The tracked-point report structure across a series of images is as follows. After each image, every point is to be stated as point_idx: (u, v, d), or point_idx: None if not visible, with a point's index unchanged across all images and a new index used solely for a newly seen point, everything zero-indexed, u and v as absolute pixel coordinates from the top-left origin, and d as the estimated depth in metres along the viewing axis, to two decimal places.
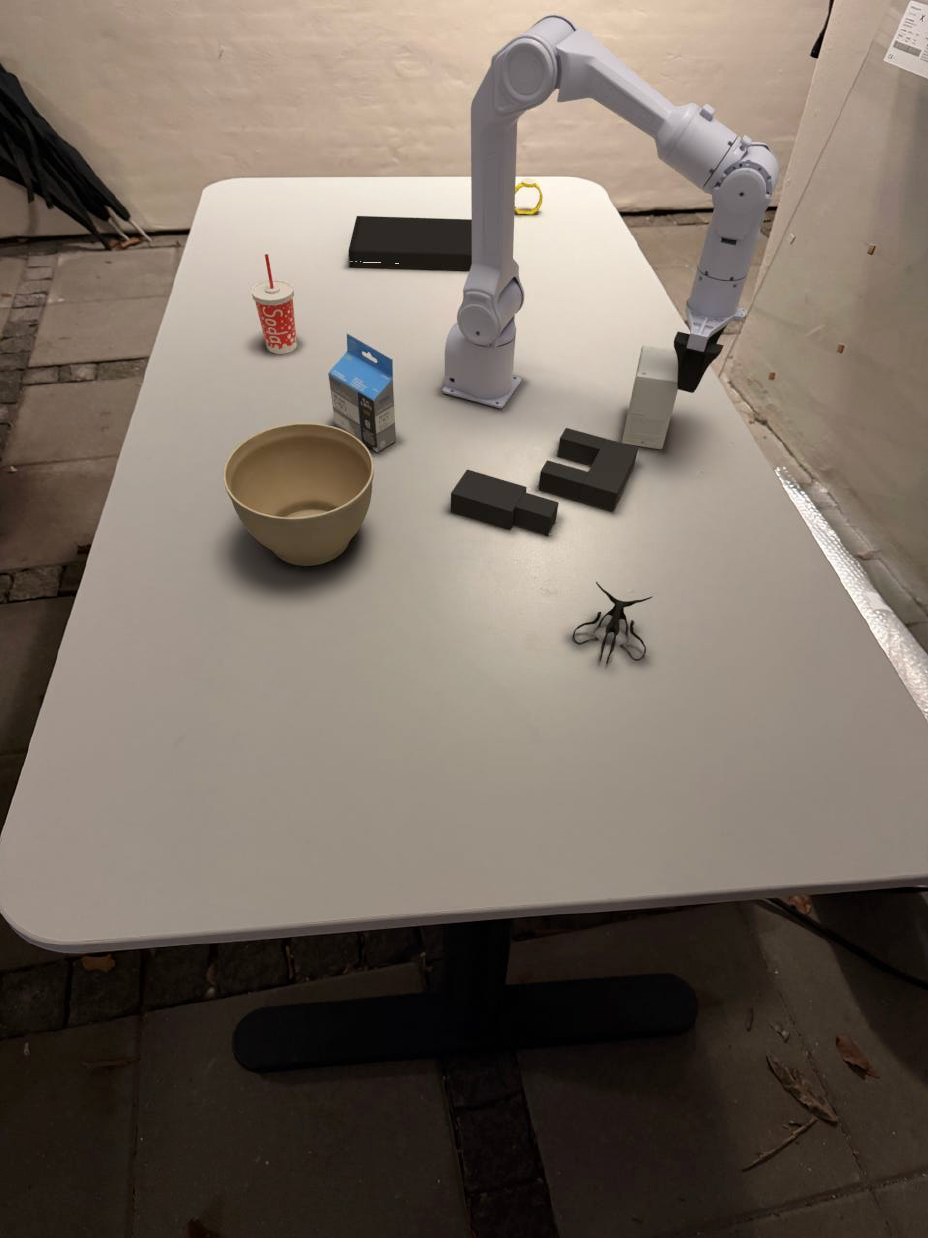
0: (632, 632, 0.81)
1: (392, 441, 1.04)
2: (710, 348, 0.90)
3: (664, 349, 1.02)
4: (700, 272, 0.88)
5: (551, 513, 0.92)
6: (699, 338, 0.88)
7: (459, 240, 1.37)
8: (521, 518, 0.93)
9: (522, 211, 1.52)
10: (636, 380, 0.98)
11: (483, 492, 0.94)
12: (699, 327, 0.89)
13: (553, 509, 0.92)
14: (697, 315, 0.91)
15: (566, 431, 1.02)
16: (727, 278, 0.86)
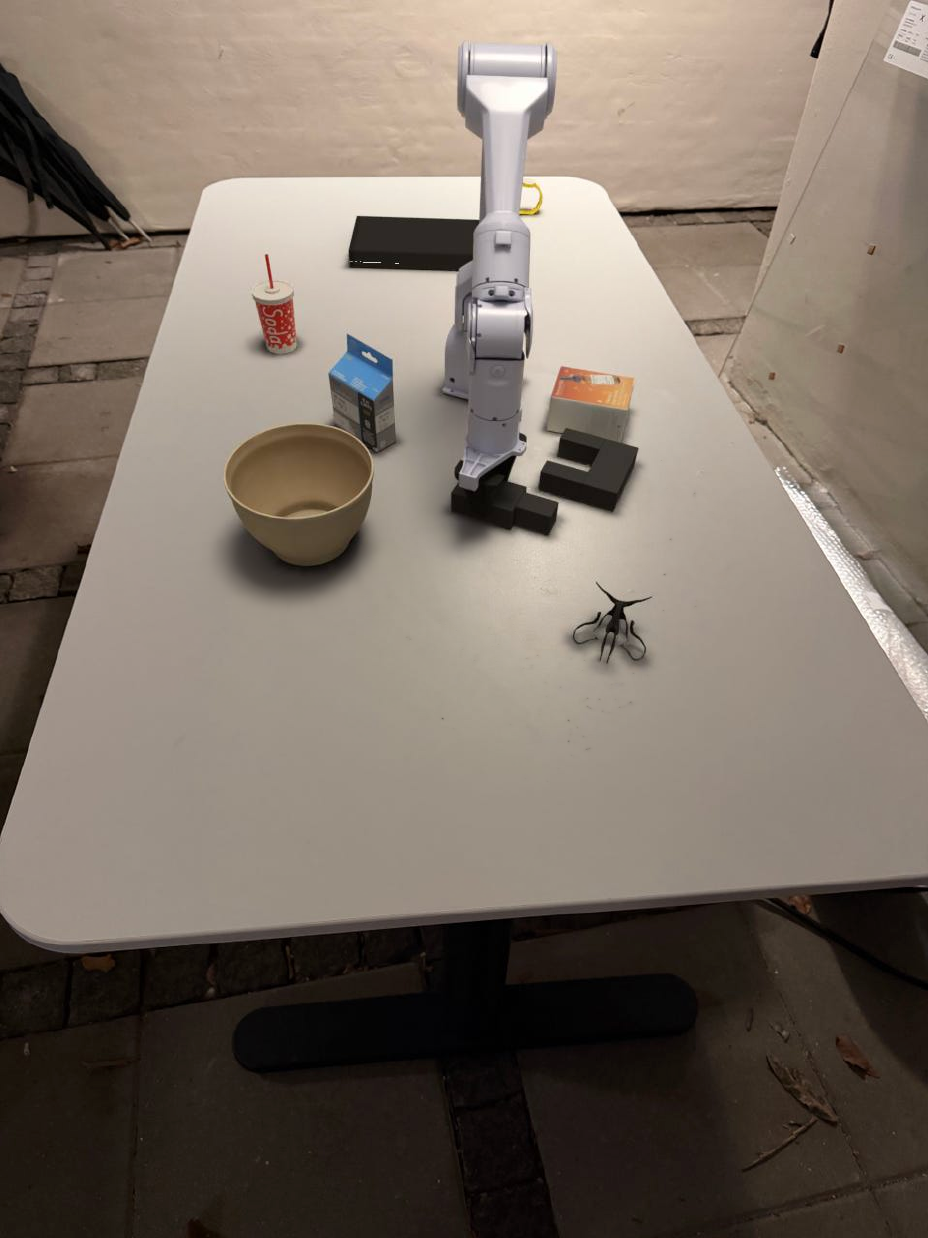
0: (632, 632, 0.81)
1: (392, 441, 1.04)
2: (489, 479, 0.87)
3: None
4: (469, 410, 0.85)
5: (551, 513, 0.92)
6: (468, 479, 0.84)
7: (459, 240, 1.37)
8: (521, 518, 0.93)
9: (522, 211, 1.52)
10: (550, 430, 1.07)
11: None
12: (472, 465, 0.86)
13: (553, 509, 0.92)
14: (473, 450, 0.87)
15: (566, 431, 1.02)
16: (469, 407, 0.84)
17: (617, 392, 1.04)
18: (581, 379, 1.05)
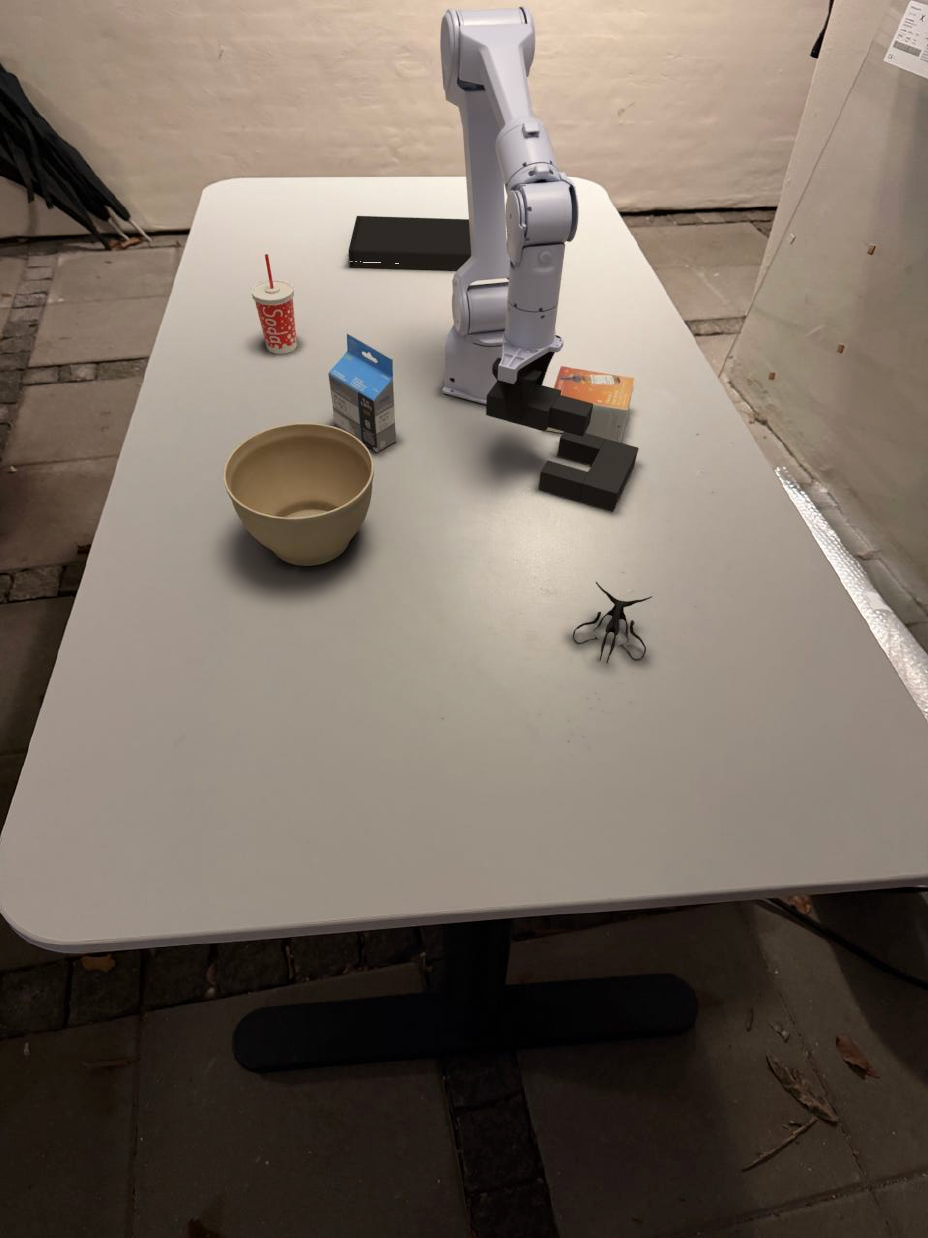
0: (632, 632, 0.81)
1: (392, 441, 1.04)
2: (526, 375, 0.89)
3: None
4: (509, 303, 0.86)
5: (586, 413, 0.93)
6: (507, 370, 0.86)
7: (459, 240, 1.37)
8: (556, 419, 0.95)
9: None
10: (550, 430, 1.07)
11: None
12: (510, 358, 0.87)
13: (588, 409, 0.94)
14: (511, 346, 0.88)
15: None
16: (512, 303, 0.85)
17: (617, 392, 1.04)
18: (581, 379, 1.05)
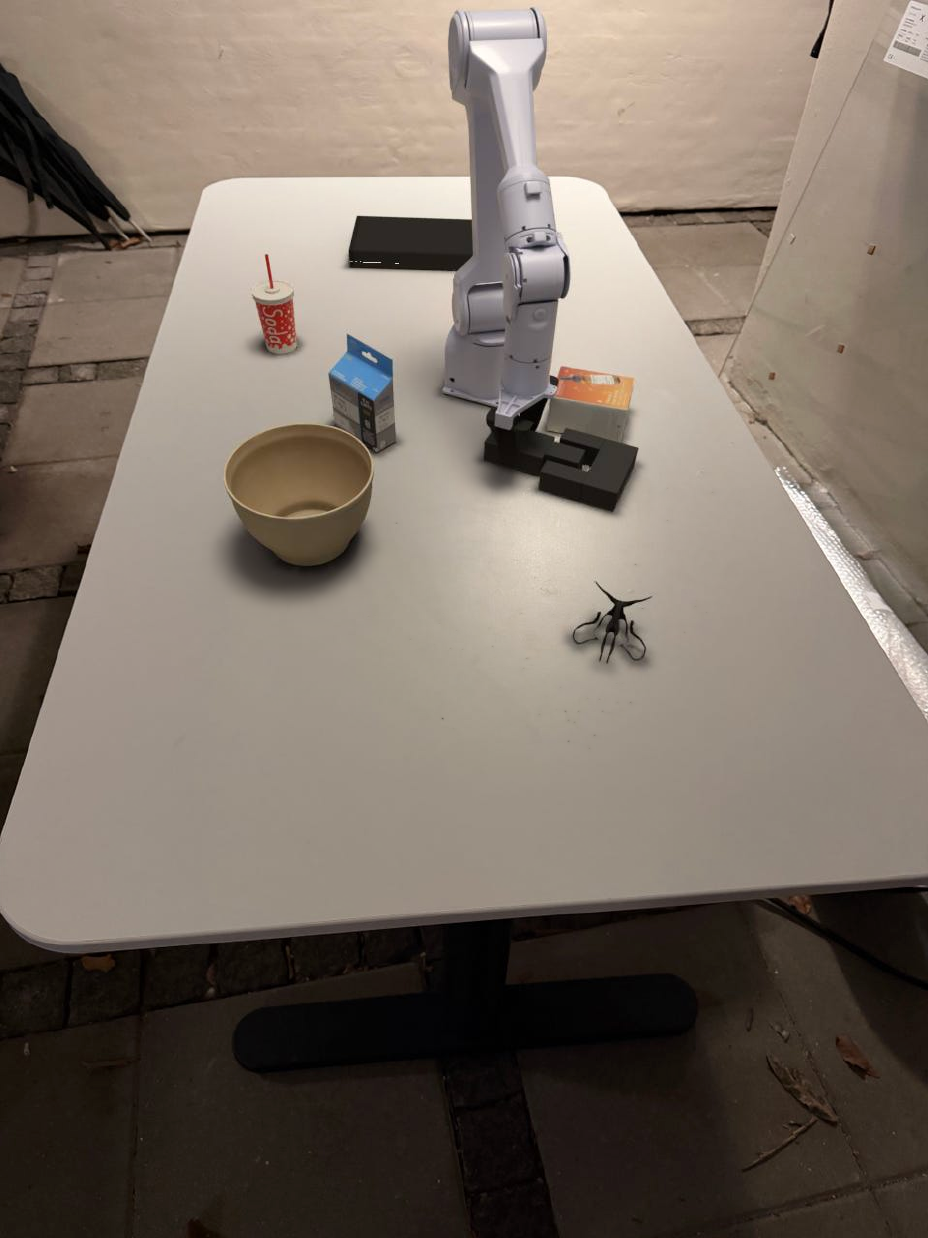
0: (632, 632, 0.82)
1: (392, 441, 1.04)
2: (519, 425, 0.93)
3: None
4: (505, 353, 0.91)
5: (578, 459, 0.98)
6: (504, 418, 0.90)
7: (459, 240, 1.37)
8: None
9: None
10: (550, 430, 1.07)
11: None
12: (507, 406, 0.92)
13: (580, 456, 0.99)
14: (507, 393, 0.93)
15: (566, 431, 1.02)
16: (508, 354, 0.90)
17: (617, 392, 1.04)
18: (581, 379, 1.05)
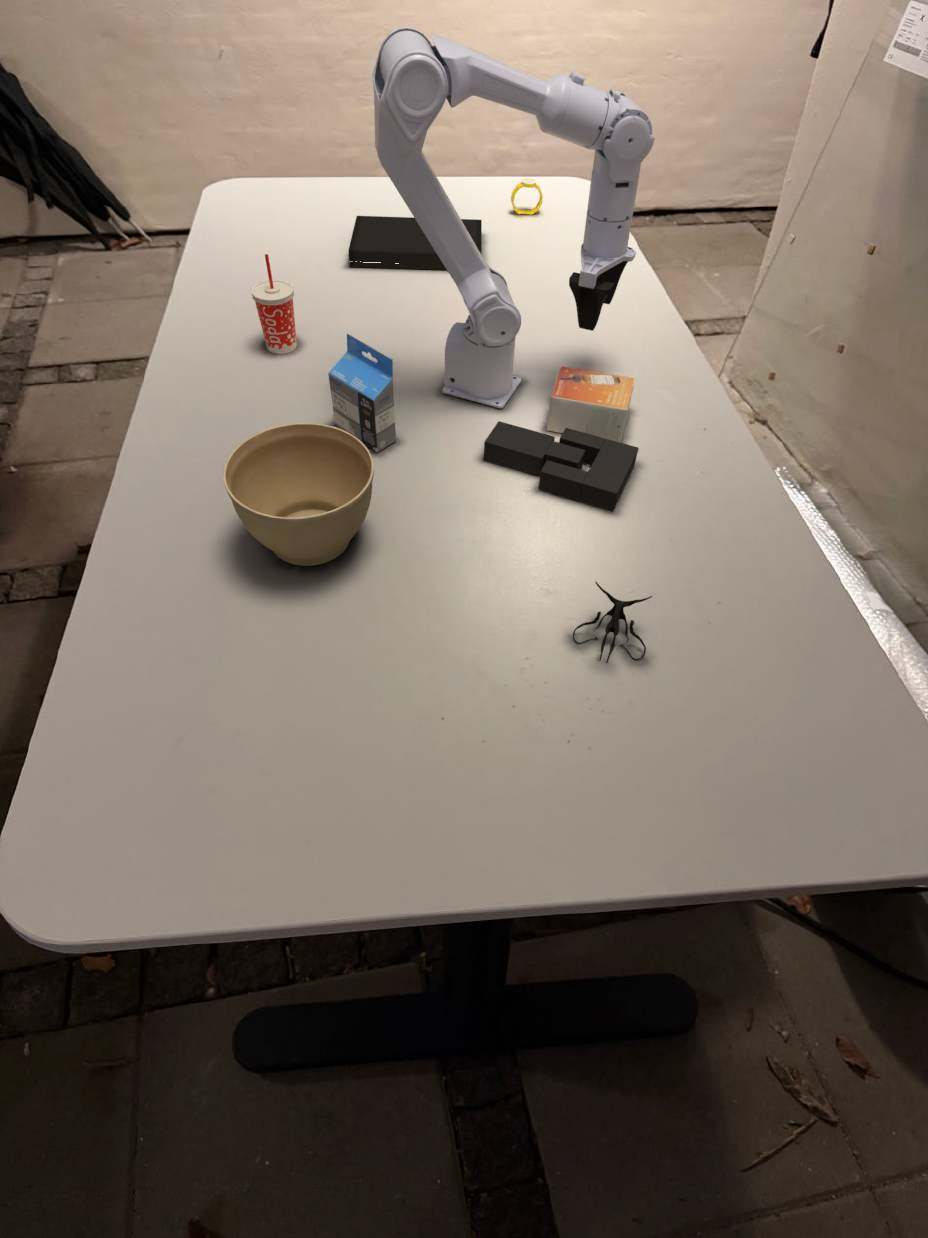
0: (632, 632, 0.82)
1: (392, 441, 1.04)
2: (601, 286, 0.98)
3: None
4: (589, 215, 0.96)
5: (578, 459, 0.98)
6: (588, 275, 0.96)
7: None
8: None
9: (522, 211, 1.52)
10: (550, 430, 1.07)
11: (514, 441, 1.01)
12: (590, 266, 0.98)
13: (580, 456, 0.99)
14: (589, 256, 0.99)
15: (566, 431, 1.02)
16: (624, 218, 0.95)
17: (617, 392, 1.04)
18: (581, 379, 1.05)
